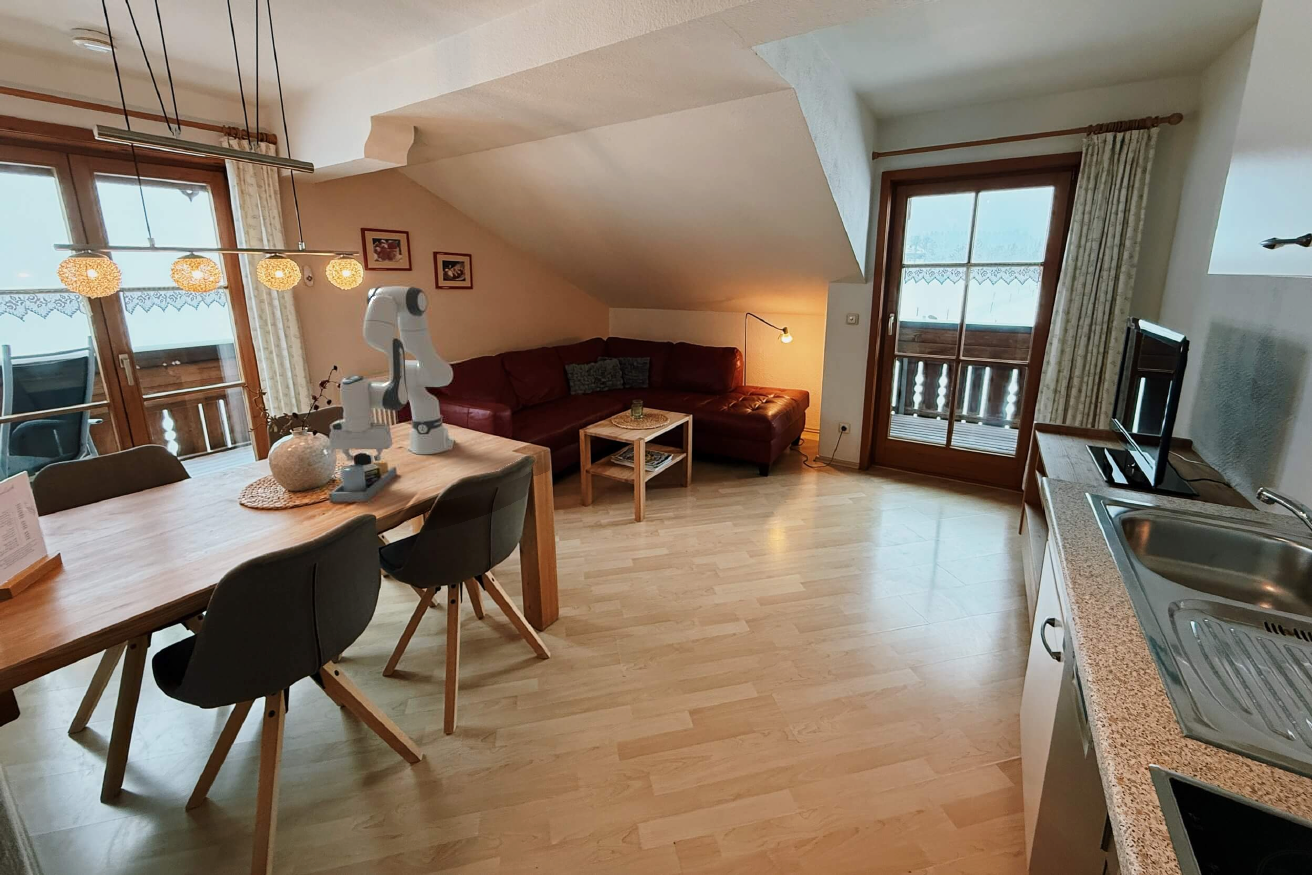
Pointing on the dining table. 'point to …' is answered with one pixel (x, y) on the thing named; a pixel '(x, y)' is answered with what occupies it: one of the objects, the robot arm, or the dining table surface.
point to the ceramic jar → (353, 478)
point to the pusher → (382, 467)
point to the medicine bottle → (368, 468)
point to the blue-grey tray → (342, 496)
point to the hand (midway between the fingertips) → (364, 460)
